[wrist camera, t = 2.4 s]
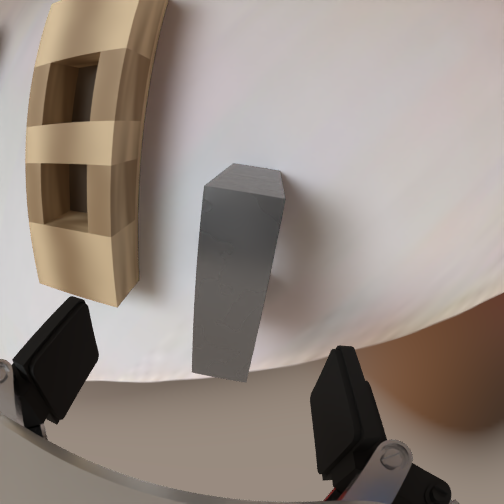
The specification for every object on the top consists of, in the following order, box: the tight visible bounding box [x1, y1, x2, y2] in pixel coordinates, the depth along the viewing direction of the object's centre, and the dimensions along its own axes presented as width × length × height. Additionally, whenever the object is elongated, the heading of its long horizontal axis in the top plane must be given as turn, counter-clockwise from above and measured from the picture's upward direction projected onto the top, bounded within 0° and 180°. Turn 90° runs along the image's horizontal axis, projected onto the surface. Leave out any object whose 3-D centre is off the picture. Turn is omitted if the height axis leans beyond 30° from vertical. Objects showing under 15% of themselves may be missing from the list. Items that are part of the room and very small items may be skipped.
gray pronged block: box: [192, 163, 285, 382], centre depth 16 cm, size 10×3×8 cm, turn 171°
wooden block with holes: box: [25, 0, 168, 307], centre depth 15 cm, size 8×22×4 cm, turn 171°
